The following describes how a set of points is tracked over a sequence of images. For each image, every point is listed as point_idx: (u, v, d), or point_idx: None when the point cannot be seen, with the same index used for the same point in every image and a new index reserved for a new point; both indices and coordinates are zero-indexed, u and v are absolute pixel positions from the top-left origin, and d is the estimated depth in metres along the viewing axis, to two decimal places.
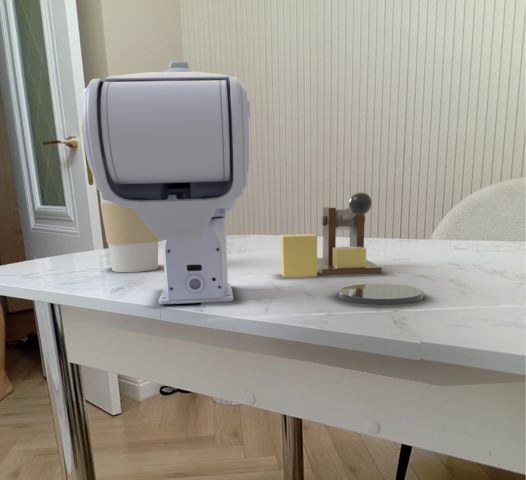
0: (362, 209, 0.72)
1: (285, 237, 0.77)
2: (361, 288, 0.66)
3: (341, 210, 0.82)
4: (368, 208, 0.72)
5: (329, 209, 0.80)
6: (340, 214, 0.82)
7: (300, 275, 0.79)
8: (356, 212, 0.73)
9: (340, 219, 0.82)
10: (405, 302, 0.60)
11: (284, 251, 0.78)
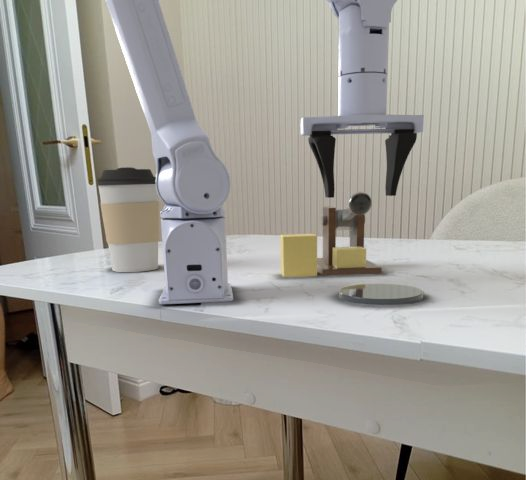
0: (362, 209, 0.72)
1: (285, 237, 0.77)
2: (361, 288, 0.66)
3: (341, 210, 0.82)
4: (368, 208, 0.72)
5: (329, 209, 0.80)
6: (340, 214, 0.82)
7: (300, 275, 0.79)
8: (356, 212, 0.73)
9: (340, 219, 0.82)
10: (405, 302, 0.60)
11: (284, 251, 0.78)
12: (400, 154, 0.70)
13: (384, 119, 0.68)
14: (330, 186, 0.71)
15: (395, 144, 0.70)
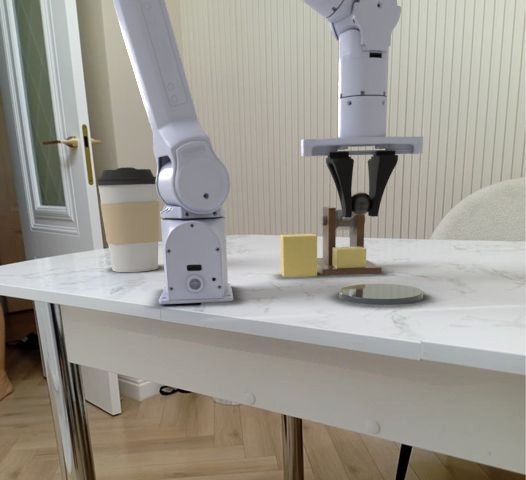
0: (362, 209, 0.72)
1: (285, 237, 0.77)
2: (361, 288, 0.66)
3: (341, 210, 0.82)
4: (368, 208, 0.72)
5: (329, 209, 0.80)
6: (340, 214, 0.82)
7: (300, 275, 0.79)
8: (356, 212, 0.73)
9: (340, 219, 0.82)
10: (405, 302, 0.60)
11: (284, 251, 0.78)
12: (381, 176, 0.70)
13: (384, 141, 0.69)
14: (348, 206, 0.72)
15: (376, 165, 0.70)
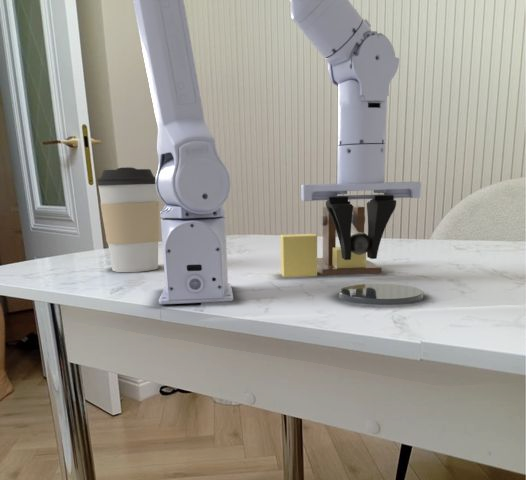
0: (360, 253, 0.74)
1: (285, 237, 0.77)
2: (361, 288, 0.66)
3: None
4: (366, 251, 0.74)
5: None
6: None
7: (300, 275, 0.79)
8: (354, 253, 0.75)
9: None
10: (405, 302, 0.60)
11: (284, 251, 0.78)
12: (380, 220, 0.72)
13: (382, 187, 0.70)
14: (347, 249, 0.73)
15: (375, 210, 0.72)
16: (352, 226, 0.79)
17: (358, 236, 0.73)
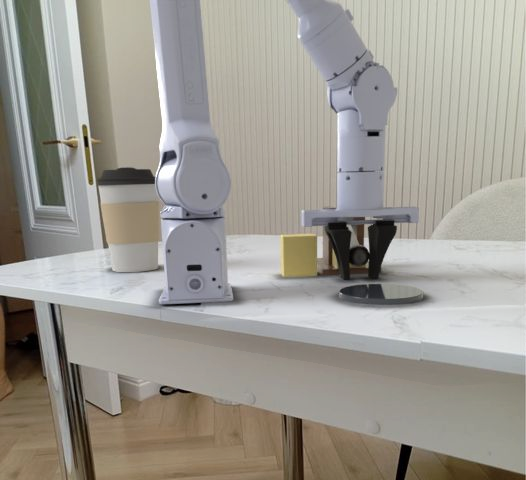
0: (359, 266, 0.75)
1: (285, 237, 0.77)
2: (361, 288, 0.66)
3: None
4: None
5: None
6: None
7: (300, 275, 0.79)
8: (353, 265, 0.76)
9: None
10: (405, 302, 0.60)
11: (284, 251, 0.78)
12: (381, 245, 0.73)
13: (381, 213, 0.72)
14: (346, 273, 0.74)
15: (376, 235, 0.73)
16: (352, 232, 0.79)
17: (357, 250, 0.74)
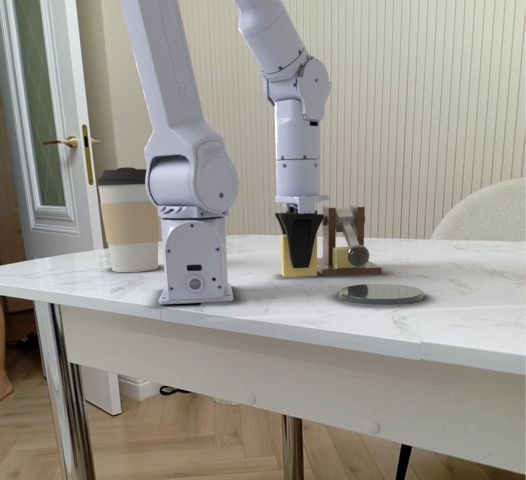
0: (359, 266, 0.75)
1: (285, 237, 0.77)
2: (361, 288, 0.66)
3: (342, 217, 0.81)
4: None
5: (329, 209, 0.80)
6: (340, 221, 0.82)
7: (300, 275, 0.79)
8: (353, 265, 0.76)
9: (340, 226, 0.82)
10: (405, 302, 0.60)
11: (284, 251, 0.78)
12: (285, 231, 0.76)
13: (281, 201, 0.75)
14: None
15: None
16: (352, 232, 0.79)
17: (357, 250, 0.74)
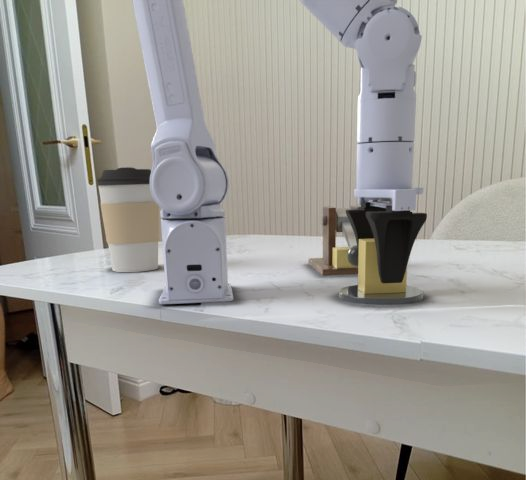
0: None
1: (368, 242, 0.61)
2: None
3: (342, 217, 0.81)
4: None
5: (329, 209, 0.80)
6: (340, 221, 0.82)
7: (385, 290, 0.63)
8: (353, 265, 0.76)
9: (340, 226, 0.82)
10: (405, 302, 0.60)
11: (366, 260, 0.62)
12: (374, 236, 0.58)
13: (365, 195, 0.59)
14: None
15: None
16: (352, 232, 0.79)
17: (357, 250, 0.74)
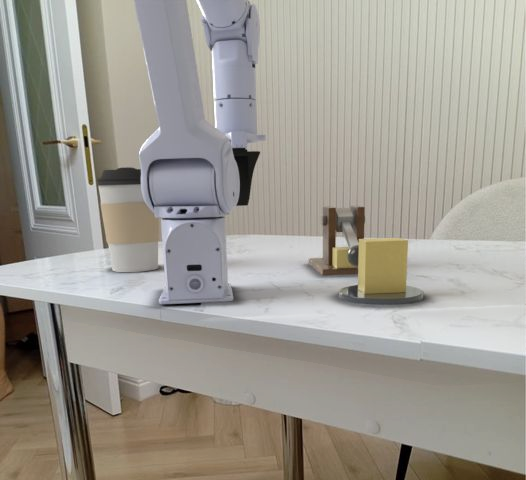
0: None
1: (368, 242, 0.61)
2: None
3: (342, 217, 0.81)
4: None
5: (329, 209, 0.80)
6: (340, 221, 0.82)
7: (385, 290, 0.63)
8: (353, 265, 0.76)
9: (340, 226, 0.82)
10: (405, 302, 0.60)
11: (366, 260, 0.62)
12: None
13: None
14: None
15: None
16: (352, 232, 0.79)
17: (357, 250, 0.74)
